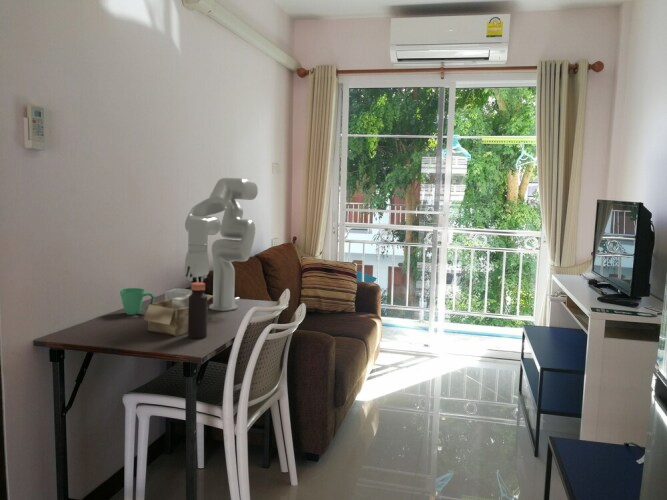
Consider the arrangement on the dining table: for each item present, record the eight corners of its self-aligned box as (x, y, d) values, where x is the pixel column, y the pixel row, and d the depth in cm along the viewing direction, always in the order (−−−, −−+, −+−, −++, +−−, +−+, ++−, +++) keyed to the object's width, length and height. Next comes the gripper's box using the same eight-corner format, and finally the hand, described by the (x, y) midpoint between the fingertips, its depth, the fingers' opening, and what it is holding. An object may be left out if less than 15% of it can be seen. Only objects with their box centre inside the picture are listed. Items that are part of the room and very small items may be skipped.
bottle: (197, 333, 210) (198, 281, 208) (210, 336, 207) (211, 283, 205) (184, 336, 205) (184, 283, 202) (197, 340, 201) (198, 285, 199)
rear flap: (179, 297, 224) (179, 298, 224) (203, 301, 218) (204, 302, 219) (189, 291, 229) (189, 292, 229) (213, 295, 224) (213, 296, 224)
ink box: (183, 320, 228) (183, 292, 227) (164, 319, 230) (164, 291, 228) (192, 316, 236) (192, 289, 235) (173, 314, 238) (174, 287, 237)
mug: (115, 315, 232) (115, 291, 231) (126, 310, 242) (126, 287, 241) (149, 317, 231) (150, 293, 230) (159, 312, 241) (159, 289, 240)
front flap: (143, 319, 208) (144, 319, 208) (168, 324, 202) (169, 325, 202) (149, 304, 209) (149, 304, 210) (174, 308, 204) (174, 309, 204)
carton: (176, 321, 226) (176, 289, 224) (205, 327, 219) (206, 294, 217) (147, 330, 211) (147, 296, 210) (177, 336, 205) (177, 301, 203)
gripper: (202, 246, 230) (202, 289, 232) (177, 249, 217) (177, 295, 219) (217, 247, 227) (216, 292, 229) (192, 251, 213) (191, 297, 216)
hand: (197, 293), depth 224 cm, fingers closed
